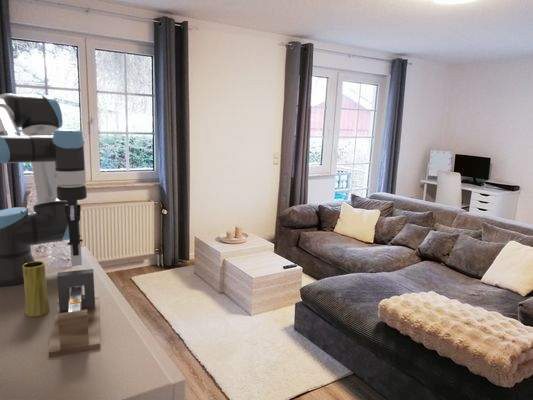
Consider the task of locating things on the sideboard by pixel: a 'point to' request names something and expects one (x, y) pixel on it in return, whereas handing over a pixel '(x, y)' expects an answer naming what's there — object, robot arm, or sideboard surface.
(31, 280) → the vase
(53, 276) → the sideboard surface
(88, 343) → the wooden stand
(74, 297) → the light grey bar
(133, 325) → the sideboard surface
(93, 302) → the collar
